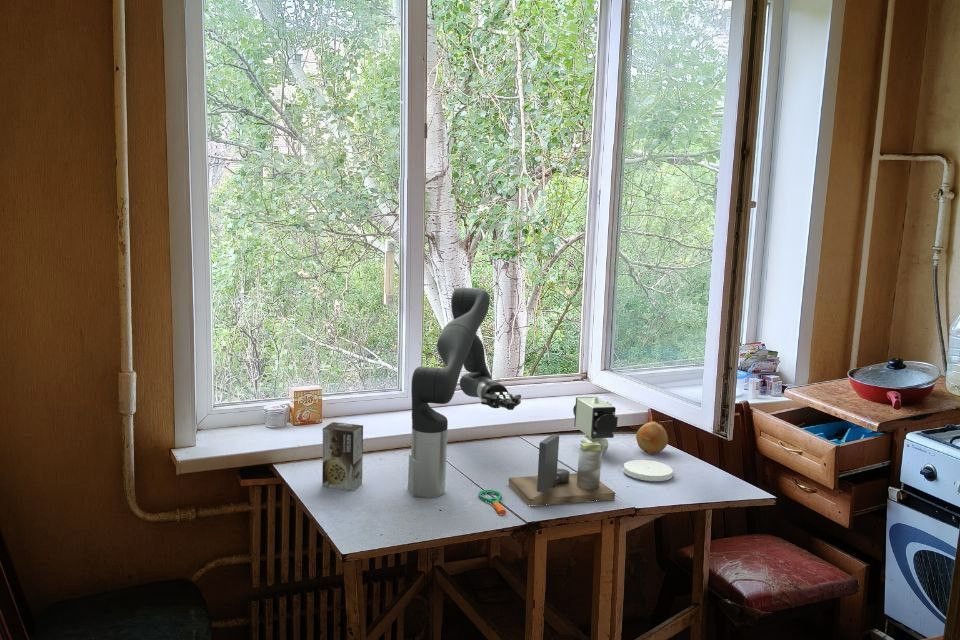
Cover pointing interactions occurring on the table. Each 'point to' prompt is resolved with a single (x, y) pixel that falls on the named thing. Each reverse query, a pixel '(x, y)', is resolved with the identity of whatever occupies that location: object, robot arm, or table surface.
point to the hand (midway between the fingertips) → (511, 406)
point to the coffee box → (342, 456)
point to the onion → (652, 438)
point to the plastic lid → (648, 470)
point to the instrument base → (578, 487)
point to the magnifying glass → (493, 500)
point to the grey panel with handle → (550, 465)
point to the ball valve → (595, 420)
